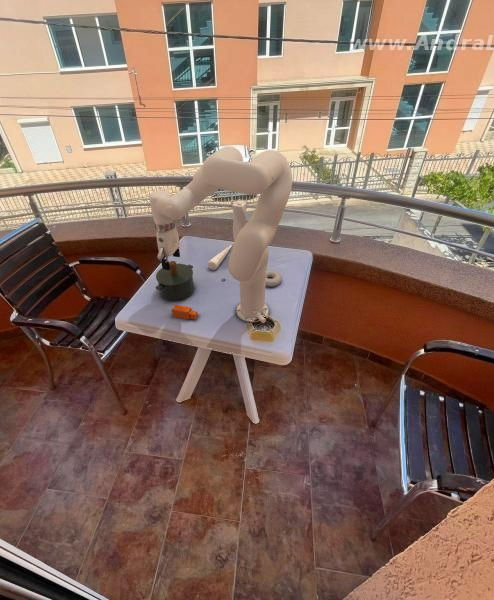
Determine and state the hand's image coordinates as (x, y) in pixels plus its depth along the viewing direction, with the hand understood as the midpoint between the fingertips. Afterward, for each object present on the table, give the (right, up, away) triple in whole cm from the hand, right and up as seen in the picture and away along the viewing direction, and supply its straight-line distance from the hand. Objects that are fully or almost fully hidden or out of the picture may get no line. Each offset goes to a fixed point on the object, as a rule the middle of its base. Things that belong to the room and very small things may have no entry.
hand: (171, 262), depth 131 cm
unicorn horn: (+20, +5, +27) cm, 34 cm away
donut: (+42, -7, +11) cm, 44 cm away
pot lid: (+1, -5, +4) cm, 6 cm away
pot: (+1, -11, +9) cm, 14 cm away
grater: (+27, +28, +33) cm, 51 cm away
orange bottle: (+5, -21, -3) cm, 22 cm away
